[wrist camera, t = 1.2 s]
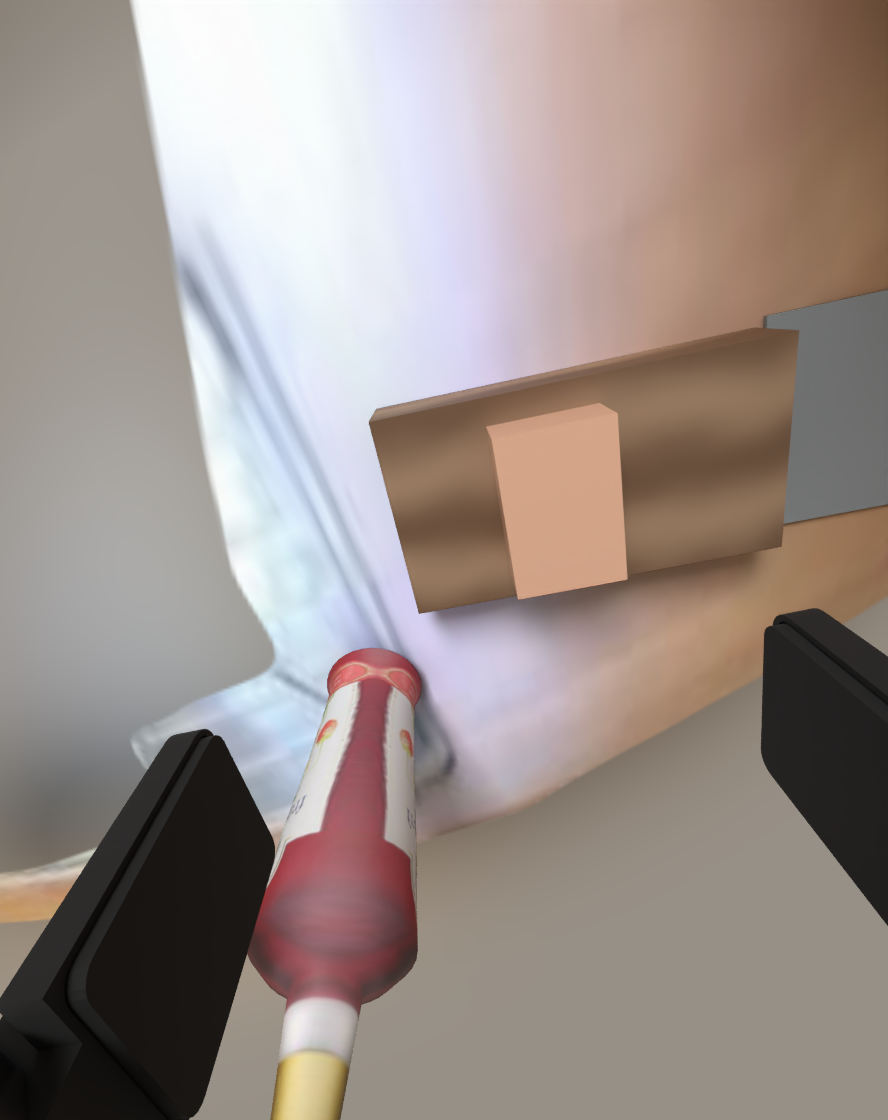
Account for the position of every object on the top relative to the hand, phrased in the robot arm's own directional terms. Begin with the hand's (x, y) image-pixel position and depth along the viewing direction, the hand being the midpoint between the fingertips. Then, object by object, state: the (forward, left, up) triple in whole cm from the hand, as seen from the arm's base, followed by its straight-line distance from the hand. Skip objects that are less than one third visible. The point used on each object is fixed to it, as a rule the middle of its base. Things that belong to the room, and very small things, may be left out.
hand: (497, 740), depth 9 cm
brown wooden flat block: (+4, +7, -25) cm, 26 cm away
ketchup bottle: (+17, -9, -25) cm, 32 cm away
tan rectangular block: (+4, +5, -20) cm, 21 cm away
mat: (+4, +25, -25) cm, 36 cm away
